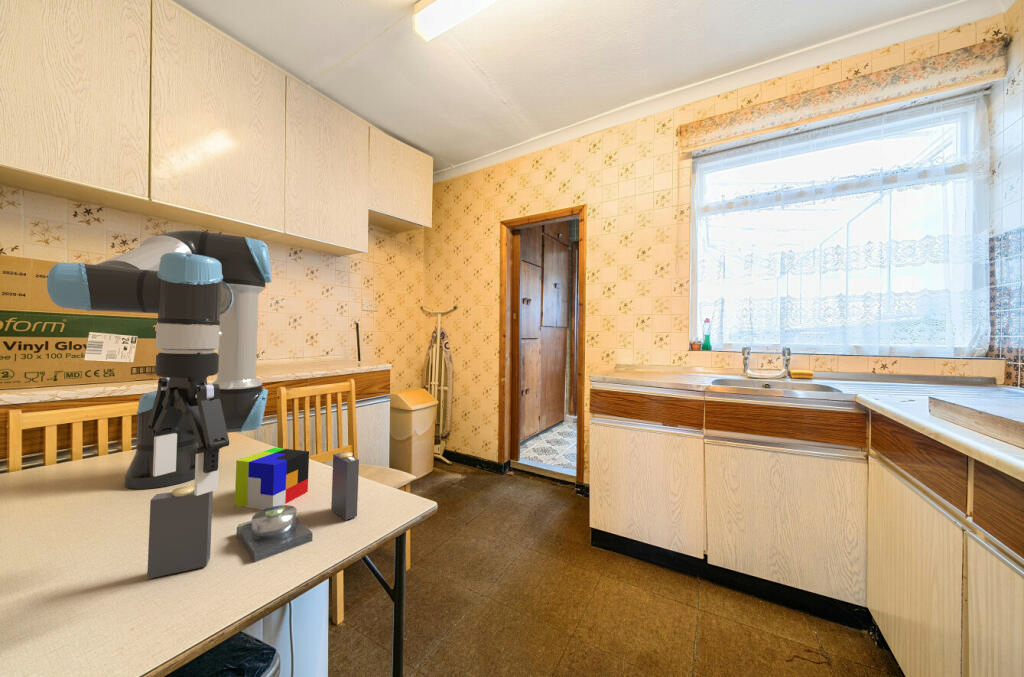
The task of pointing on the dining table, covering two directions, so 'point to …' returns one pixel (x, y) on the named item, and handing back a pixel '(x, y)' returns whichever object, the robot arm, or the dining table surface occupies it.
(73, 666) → the dining table surface
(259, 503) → the puzzle toy
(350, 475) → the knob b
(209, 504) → the dark grey flat block
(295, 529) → the levelling plate
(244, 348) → the robot arm
